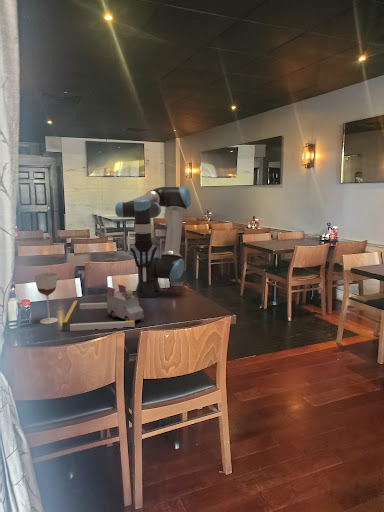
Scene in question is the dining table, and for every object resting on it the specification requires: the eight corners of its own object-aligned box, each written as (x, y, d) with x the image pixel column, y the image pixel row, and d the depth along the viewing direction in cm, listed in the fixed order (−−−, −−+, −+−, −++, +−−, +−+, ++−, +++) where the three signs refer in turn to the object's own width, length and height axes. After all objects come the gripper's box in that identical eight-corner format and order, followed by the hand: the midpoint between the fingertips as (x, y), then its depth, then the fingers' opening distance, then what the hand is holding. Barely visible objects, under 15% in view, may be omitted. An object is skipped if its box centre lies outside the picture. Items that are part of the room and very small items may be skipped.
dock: (134, 305, 200) (134, 298, 200) (134, 327, 169) (134, 318, 168) (74, 308, 196) (74, 300, 195) (62, 331, 165) (62, 322, 164)
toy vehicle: (129, 326, 171) (128, 294, 168) (105, 316, 184) (104, 286, 182) (145, 321, 177) (144, 290, 175) (121, 311, 191) (120, 283, 188)
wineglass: (63, 320, 178) (60, 275, 175) (43, 325, 172) (40, 278, 168) (54, 316, 184) (51, 272, 180) (35, 320, 177) (31, 275, 174)
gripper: (156, 231, 183) (157, 278, 187) (129, 231, 181) (131, 279, 186) (157, 233, 175) (158, 282, 180) (129, 234, 174) (130, 283, 178)
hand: (144, 280), depth 183 cm, fingers closed
